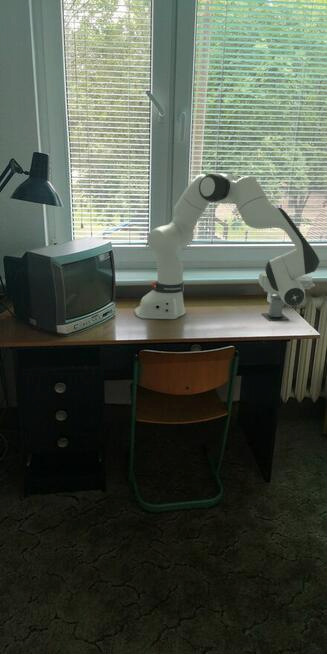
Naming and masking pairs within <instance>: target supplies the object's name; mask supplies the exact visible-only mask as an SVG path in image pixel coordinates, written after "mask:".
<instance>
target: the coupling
mask: <svg viewBox="0 0 327 654" xmlns="http://www.w3.org/2000/svg"><path fill="white" fill-rule="evenodd" d="M270 298H271V299H270V303H269V310H268V312H267V313H268V316H269V317H272V318H281V317H282V314H283V309H284V308H283V301H282V299H281V298H280V296H279V295H277V294H274V293H271V296H270Z"/></svg>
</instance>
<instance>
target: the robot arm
mask: <svg viewBox="0 0 327 654" xmlns="http://www.w3.org/2000/svg"><path fill="white" fill-rule="evenodd" d="M210 203H216V204H221V205H222V204H223V205H224V204H233V205H234V204H235V206H236V208H237V211H238V212H239V215H240V217H241V219H242V221H243V222H244V224H245V225H246V226H248V227H249V228H252V229H256V230H257V229H259V230H261V229H262V230H263V229H264V230H265V229H271V228H272V229H274V228H275V229H281V230H282V231H284V232H285V233H286V235H287V236H288V238H289V240H291V242H292V243H293V245H294V246H295V248H294V249H292V250H290V251H287V252H285V253H284V254H281V255H278V256H276V257H274V258H272V259H270V260H269V259H268V261H267V263H266V265H265V268H264V270H265V272H260V273H259V275H258V283H259V286H260V287H261V288H263V291H264V292H266V293H268V292H270V293H274V294H277V295H279V296H280V298H281V299H282V301H283V302H284V303H285V305H286V306H288V307H289V306H290V307H296V306H299V305H301V304H302V303H303V302H304V300H305V299H306V291H305V290H311V289H312V288H314V287H316V284H315V283H314V282H313V276H311V275H308V274H311V273H315V271H316V270H317V269H318V267H319V265H320V257H319V254H318V252H317V251H316V250H315V248H313V247H312V246H311V244H310V243H309V241H307V239H306V238H305V236H304V235H303V234H302V232H301V230H299V228H298V226H297V225H296V224H295V223H294V221H293V219H292V218H291V217H290V216H289V214H288V213H287V212H286V211H285V210H284V209H283V208H281V207H276V206H274V205H273V204H272V203H271V202H270V200H269V199H268V197H267V194H266V192H265V191H264V189H263V188H262V185H261V184H260V183H259V182H258V180H257V178H255V177H253V176H251V175H246V176H240V175H236V174H231V173H222V172H209V173H206V174H205V173H204V174H203V173H202V174H201V173H200V174H198V175H196V176H195V177H194V179H193V180H192V181H191V182H190V183H189V184H188V186H187V187H186V188H185V190H184V191H183V193H182V195H181V196H180V197H179V199H178V200H177V202H176V204H175V205H174V208H173V218H172V221H171V222H169V223H168V224H165V225H161V226H157V227H155V228H153V229H152V230H150V232H149V233H148V235H147V239H146V241H147V245H148V248H149V249H150V250H151V251H152V252H153V254H154V256H155V259H156V264H157V265H156V266H157V267H156V268H157V280H156V281H154V280H151V282H150V285H151V286H152V289H151V290H150V291H149V292H148V293H147V294H145V295H144V296H143V297H142V298H141V300H140V303H139V306H138V307H136V308H135V309H134V314H135V316H136V317H138V318H140V319H154V320H157V319H159V320H176V319H177V318H179V317H181V316H184V315H185V314H186V309H185V305H184V290H185V283H184V264H183V262H182V261H181V260H180V258H179V256H178V255H179V254H178V250H179V249H184V248H186V247H187V246H188V245H190V244H191V243H192V242H193V240H194V235H195V234H194V232H195V231H194V230H195V228H196V225H197V223H198V222H199V220H200V218H201V217H202V216H203V214H204V212H205V211H206V209H207V208H208V206H209V205H210Z"/></svg>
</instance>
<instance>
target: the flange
mask: <svg viewBox="0 0 327 654" xmlns="http://www.w3.org/2000/svg"><path fill="white" fill-rule="evenodd" d="M268 313H269V312H265V313H264V312H263V313H261V316H263V317H264V318H265V319H266V320H267V321H268V322H277V321H279V322H280V321H289V320H290V319H289V318H288V317H287V316H286V315H284V313H282V317H281V318H272V317H269V316H268Z"/></svg>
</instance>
